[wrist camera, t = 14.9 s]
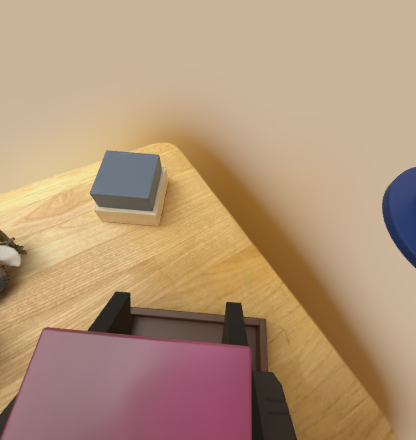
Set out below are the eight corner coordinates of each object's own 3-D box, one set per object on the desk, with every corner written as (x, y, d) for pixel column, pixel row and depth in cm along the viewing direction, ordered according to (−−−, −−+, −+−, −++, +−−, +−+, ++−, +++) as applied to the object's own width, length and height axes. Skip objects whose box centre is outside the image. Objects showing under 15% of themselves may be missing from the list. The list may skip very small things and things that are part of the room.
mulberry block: (220, 351, 14) (252, 346, 6) (213, 474, 11) (255, 767, 3) (131, 342, 14) (41, 326, 6) (106, 463, 11) (-114, 726, 3)
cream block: (168, 180, 37) (166, 167, 34) (159, 226, 33) (155, 215, 31) (117, 176, 37) (110, 162, 35) (101, 221, 33) (93, 210, 31)
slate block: (162, 169, 34) (159, 154, 32) (152, 211, 31) (148, 198, 28) (113, 165, 34) (106, 150, 32) (98, 207, 31) (89, 193, 28)
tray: (260, 321, 28) (266, 318, 25) (265, 512, 20) (274, 532, 18) (131, 310, 28) (125, 306, 25) (89, 495, 20) (76, 513, 18)
